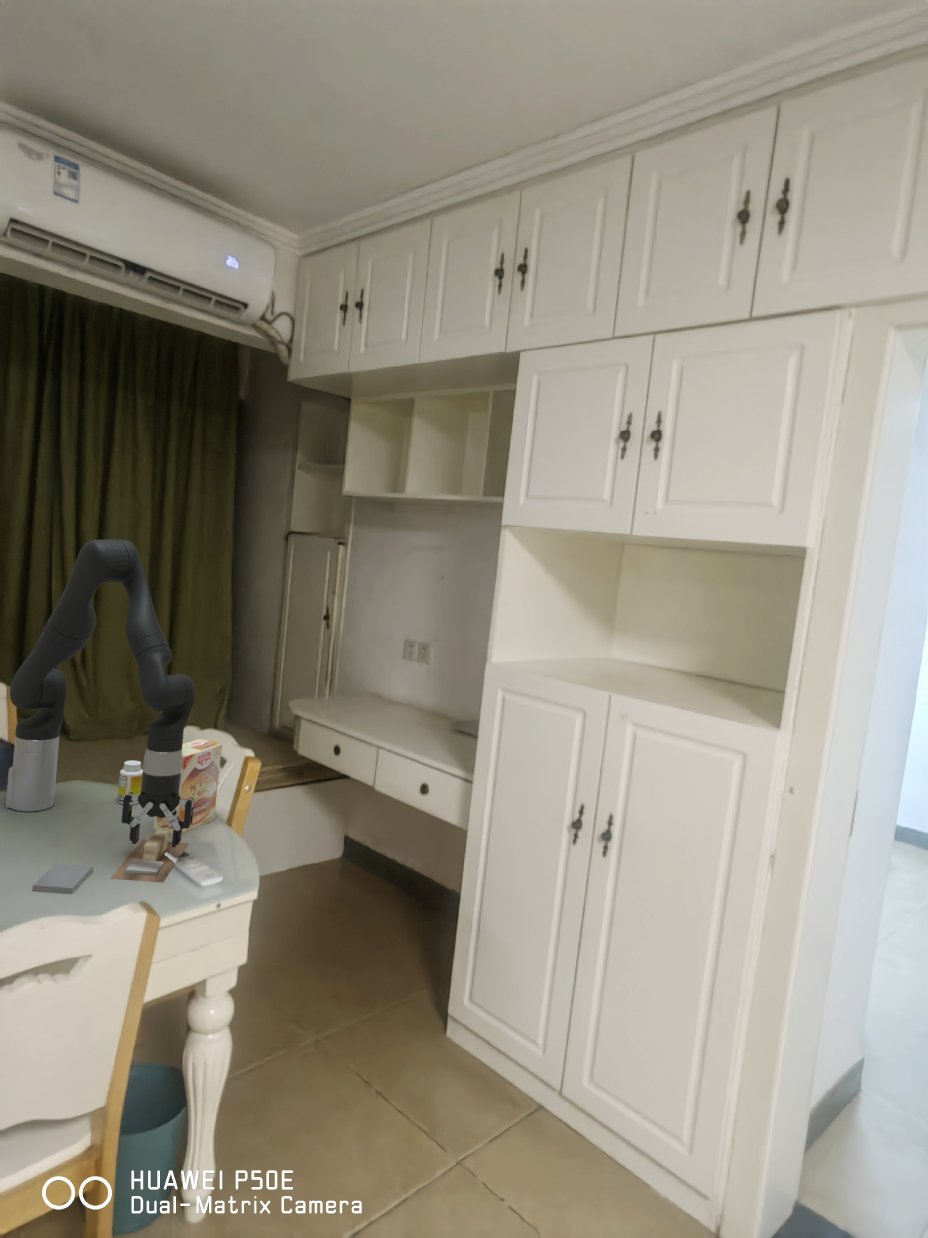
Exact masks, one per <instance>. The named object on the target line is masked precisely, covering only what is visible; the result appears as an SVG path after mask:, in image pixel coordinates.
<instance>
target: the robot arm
mask: <svg viewBox="0 0 928 1238" xmlns="http://www.w3.org/2000/svg"><path fill="white" fill-rule="evenodd" d="M107 583H108V584H110V583H121V584H122V586H123V587H124V590H125V591H126V594H127V597H128V611H127V618H126V621H125V622H126V623H125V635H126V640H127V643H128V645H129V647H130V650H131V652H132V655H133V656H134V657H133V658H134V659H135V661H136V663H137V667H138V678H139V684H140V693H141V697H142V699H143V701H144V702H145V704H146V705H147V706H148V707H149V708H150V709H151V710H154V711H157V712H161V714H160V715H159V716H158V717H156V718H155V719H153V720H152V721H151V722H150V723H149V724H148V728H147V735H146V749H145V753H144V757H143V762H142V763H143V764H142V765H143V766H142V770H143V774H142V785H141V793H140V795H136V794H133V793H132V792H129V793H128V794H127V795H126V796H125V797H124V801H123V804H122V812H121V823H122V824H126V825H129V827H130V829H129V830H130V831H129V841H130V842H131V844H132V845H137V843H138V842H139V839H140V830H141V823H140V821H142V819H144V818H145V816H146V815H147V816H148V817H151V818H154V817H155V816H157V817H160V818H164V817H167V819H168V821H169V822H170V823H171V824H172V825H173V827H174V830H173V835H172V841H171V842H172V847H176V846H177V845H178V844H179V843H181V841H182V837H183V836H182V834H183V833H182V829H184V828H186V829H187V828H189V827H190V825H191V824H192V820H193V809H194V798H192V797H191V798H189V799H183V798H180V796H179V788H180V778H181V769H182V745H183V744H184V743H183V742H184V730H185V727H186V725H187V723H188V721H189V717H190V715H191V712H192V709H193V707H194V703H195V698H196V688H195V684H194V682H193V680H192V679H191V677H189V676H188V675H187V674H183V673H178V674H177V673H176V674H170V675H166V672H165V668H164V667H166V666H167V665H169V664H170V663H171V662H172V660H173V654H172V650H171V647H170V645H169V643H168V641H167V638H166V636H165V634H164V632H163V630H162V627H161V625H160V623H159V620H158V617H157V615H156V614H157V613H156V610H155V608H154V603H153V599H152V594H151V592H150V587H149V583H148V580H147V576H146V571H145V568H144V564H143V560H142V557H141V555H140V553H139V550H138V548H137V546H136V545H135V544H134V543H133V542H132V541H129V540H127V539H93V540H90V541H88V542H86V543H85V544H84V545H83V546H82V547H81V549H80V550H79V553H78V555H77V557H76V559H75V562H74V565H73V567H72V570H71V573H70V576H69V578H68V581H67V583H66V586H65V588H64V590H63V592H62V594H61V596H60V598H59V600H58V603H56V606H55V607H54V609H53V611H52V613H51V614H50V616H49V618H48V620H47V622H46V624H45V626H44V627H43V630H42V632H41V635H40V637H39V638H38V640H37V642H36V644H35V645H34V647H33V648H32V650H31V651H30V653H29V654H28V656H27V658H25V660H24V661H23V663H22V664H21V666H20V667H19V668H18V670H17V671H16V672H15V674H14V676H13V678H12V680H11V684H10V688H9V698H10V701H11V703H12V705H14V707H16V708H18V709H23V710H31V709H32V710H33V709H39V710H38V711H37V712H35V713H34V714H33V715H32V716H30V717H28V718H26V719H23V720H22V721H19V722H18V723H17V724H16V727H15V732H14V733H15V734H14V735H15V736H14V750H13V762H12V766H10V767H9V768H8V774H7V775H8V776H7V786H6V800H5V808H6V809H7V808H10V809H12V810H14V811H18V812H19V811H20V812H40V811H44V810H48V809H50V808H51V807H53V806H54V803H55V793H56V792H55V790H56V780H57V769H58V757H59V755H58V754H59V746H60V733H61V728H62V725H63V723H64V722H63V721H64V713H65V705H66V701H67V691H68V683H67V682H68V681H67V678H66V675H65V674H64V672H63V671H62V670H61V669H58V667H59V666H61V665H62V664H64V663H65V662H67V661H68V660H70V659H72V658H73V657H74V656H76V655H77V654H79V653H80V652H81V651H82V650H83V649H84V648H85V646H86V645H87V644H88V642H89V640H90V638H91V637H92V635H93V633H94V631H95V629H96V626H97V614H96V611H95V609H94V608H95V607H94V605H93V603H92V599H93V597H94V595H95V594H96V592H97V590H98V588H100V586H101V585H104V584H107ZM137 800H138V802H139V803H138V804H139V805H140V807H141V808H142V809H141V810H140V811H139V812H138V813H137V815H136V816H133V815H132V813H133V805H135V804H134V803H135V802H136V801H137ZM179 804H181V805H182V808H183V809H184V810H185V815H184V821H182V820H181V818H180V816H179V813H178V811H177V810H176V807H177V806H178V805H179Z"/></svg>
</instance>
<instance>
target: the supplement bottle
mask: <svg viewBox="0 0 928 1238" xmlns="http://www.w3.org/2000/svg"><path fill="white" fill-rule="evenodd" d="M142 774H143V768H142V762H141V761H139V760H125V761H124V763H123V768H122V769H121V770H120V771H119V779H118V781H119V782H118V792H117V793H118V794H117V801H118V803H120V804H121V805H123V801H124V797H125V796H126V795H127V794H128V793H129V792H132V793H133V794H136V795H140V793H141V785H142ZM137 804H139V802H138V800H137V801H136V802H135V803H134V804H133V805H137Z"/></svg>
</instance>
